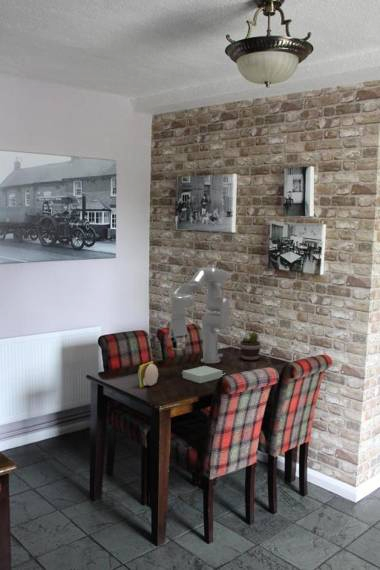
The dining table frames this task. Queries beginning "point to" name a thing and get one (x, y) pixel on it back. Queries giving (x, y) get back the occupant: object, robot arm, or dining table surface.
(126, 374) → the dining table surface
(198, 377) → the dock
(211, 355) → the robot arm
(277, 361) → the dining table surface
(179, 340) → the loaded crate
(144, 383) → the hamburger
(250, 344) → the flowerpot
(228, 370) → the dining table surface
